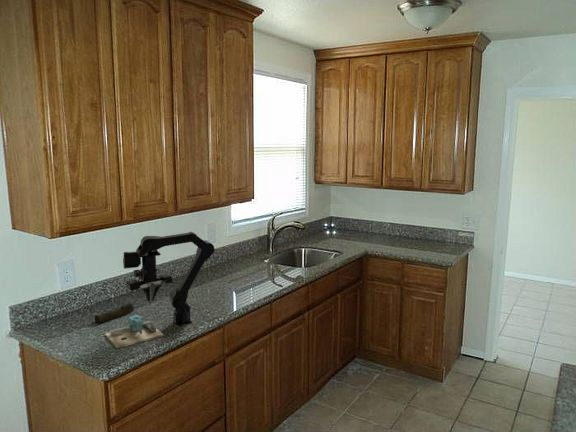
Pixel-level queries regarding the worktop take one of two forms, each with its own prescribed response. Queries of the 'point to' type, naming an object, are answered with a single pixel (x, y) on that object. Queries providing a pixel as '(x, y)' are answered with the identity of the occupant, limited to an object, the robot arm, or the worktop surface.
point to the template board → (133, 337)
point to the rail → (125, 329)
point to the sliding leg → (136, 323)
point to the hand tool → (114, 313)
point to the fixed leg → (150, 327)
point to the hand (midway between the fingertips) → (150, 301)
